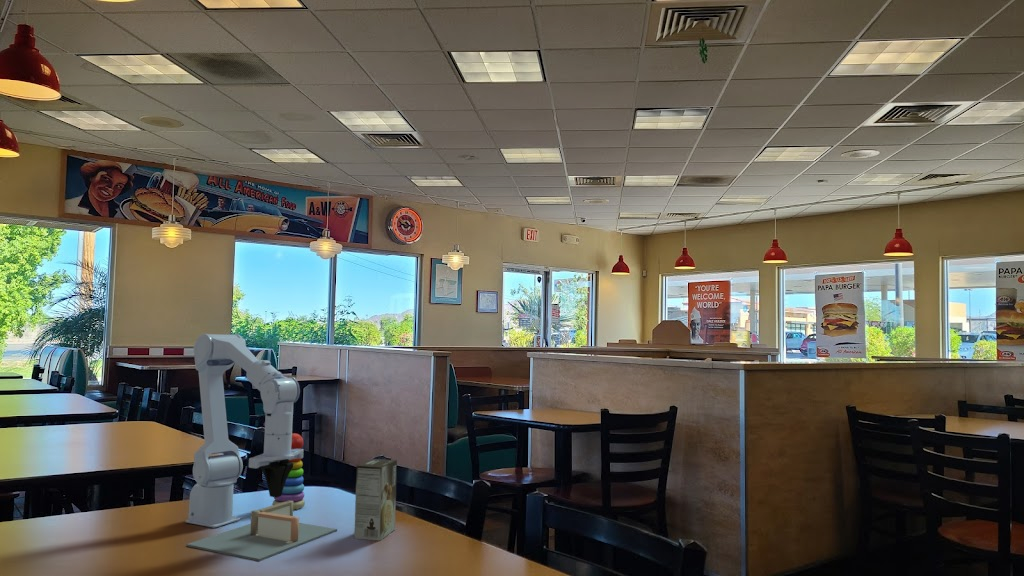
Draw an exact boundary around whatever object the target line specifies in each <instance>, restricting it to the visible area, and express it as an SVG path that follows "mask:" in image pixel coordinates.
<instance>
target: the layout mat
mask: <svg viewBox="0 0 1024 576" xmlns="http://www.w3.org/2000/svg"><path fill="white" fill-rule="evenodd" d="M250 531H251V523H248V524H245V525H243V526H240V527H236V528H232V529H229V530H226V531H223V532H220V533H217V534H214V535H211V536H210V535H209V536H207V537H205V538H202V539H198V540H195V541H193V542H189V543H186V547H190V548H194V549H199V550H204V551H209V552H213V553H218V554H223V555H228V556H233V557H237V558H242V559H243V558H244V559H249V560H253V561H256V562H257V561H258V562H261V561H263V560H265V559H268V558H271V557H274V556H276V555H278V554H282V553H284V552H286V551H289V550H292V549H295V548H298V547H300V546H301V545H305V544H306V543H309V542H311V541H312V542H313V541H316V540H317V539H320V538H322V537H325V536H328V535H331V534H333V533H336V532H337V531H338V529H337V528H333V527H328V526H327V527H326V526H321V525H314V524H311V523H310V524H309V523H305V522H304V523H303V522H299V534H298V540H297V541H291V540H285V539H279V538H273V537H267V536H261V535H255V536H252V535H250Z"/></svg>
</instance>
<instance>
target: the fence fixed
mask: <svg viewBox="0 0 1024 576" xmlns="http://www.w3.org/2000/svg"><path fill="white" fill-rule="evenodd" d="M260 512H269V513H275V514H282V515H289V516H294V510H293V501H286V502H282V503H279V504H276V505H270V506H265V507H263V508H258V509H257V510H256V509H255V510H254V509H253V510H251V514H250V524H251V531H250V535H252V536H255V535H257V534H258V513H260Z"/></svg>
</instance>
